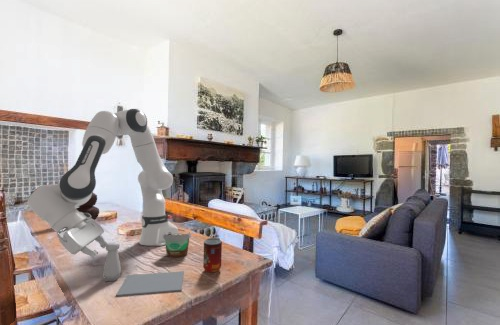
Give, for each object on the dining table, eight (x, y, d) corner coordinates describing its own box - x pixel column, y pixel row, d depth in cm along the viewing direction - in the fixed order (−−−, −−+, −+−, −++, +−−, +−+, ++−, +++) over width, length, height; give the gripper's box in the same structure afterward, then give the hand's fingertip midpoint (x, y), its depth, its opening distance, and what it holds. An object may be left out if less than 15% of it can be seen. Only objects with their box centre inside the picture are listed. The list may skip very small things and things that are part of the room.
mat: (115, 296, 77) (115, 294, 77) (127, 276, 91) (127, 275, 91) (181, 290, 81) (181, 289, 81) (183, 272, 95) (183, 271, 95)
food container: (162, 260, 107) (162, 237, 107) (163, 255, 113) (163, 233, 113) (191, 257, 110) (191, 235, 110) (190, 252, 116) (191, 231, 116)
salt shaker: (117, 273, 93) (118, 239, 93) (123, 278, 89) (124, 242, 89) (100, 279, 88) (100, 242, 88) (106, 284, 85) (107, 246, 85)
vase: (103, 223, 168) (104, 179, 168) (78, 227, 155) (79, 180, 155) (92, 220, 176) (93, 178, 176) (67, 224, 163) (68, 179, 163)
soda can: (199, 270, 97) (200, 239, 98) (214, 265, 102) (215, 236, 102) (209, 276, 92) (210, 243, 92) (224, 271, 97) (225, 240, 97)
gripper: (62, 225, 76) (96, 254, 78) (90, 212, 96) (117, 236, 98) (45, 240, 75) (80, 269, 77) (77, 224, 95) (104, 247, 97)
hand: (101, 250), depth 88 cm, fingers open, 8 cm apart
